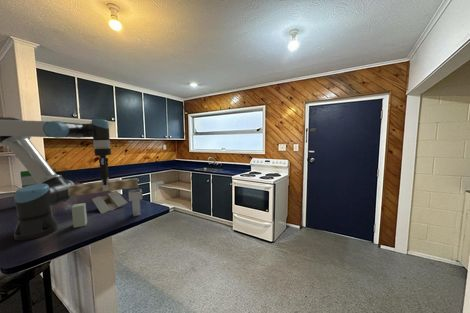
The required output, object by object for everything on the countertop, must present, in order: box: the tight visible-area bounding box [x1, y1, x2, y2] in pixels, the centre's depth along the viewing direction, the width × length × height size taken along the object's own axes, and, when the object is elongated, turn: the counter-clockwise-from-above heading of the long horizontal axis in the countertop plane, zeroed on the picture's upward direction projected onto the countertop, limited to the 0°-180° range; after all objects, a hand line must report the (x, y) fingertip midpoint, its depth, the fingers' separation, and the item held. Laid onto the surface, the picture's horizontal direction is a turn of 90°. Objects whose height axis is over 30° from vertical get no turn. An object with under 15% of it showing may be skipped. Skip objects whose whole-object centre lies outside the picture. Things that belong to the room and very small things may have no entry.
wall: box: [91, 190, 128, 214], centre depth 130 cm, size 16×9×15 cm
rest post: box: [71, 202, 88, 229], centre depth 103 cm, size 5×5×11 cm
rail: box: [68, 177, 139, 197], centre depth 108 cm, size 32×4×5 cm, turn 119°
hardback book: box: [20, 168, 57, 188], centre depth 141 cm, size 18×7×24 cm, turn 137°
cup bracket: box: [128, 188, 143, 217], centre depth 116 cm, size 7×7×14 cm
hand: (106, 189), depth 108 cm, fingers closed on rail, 3 cm apart
